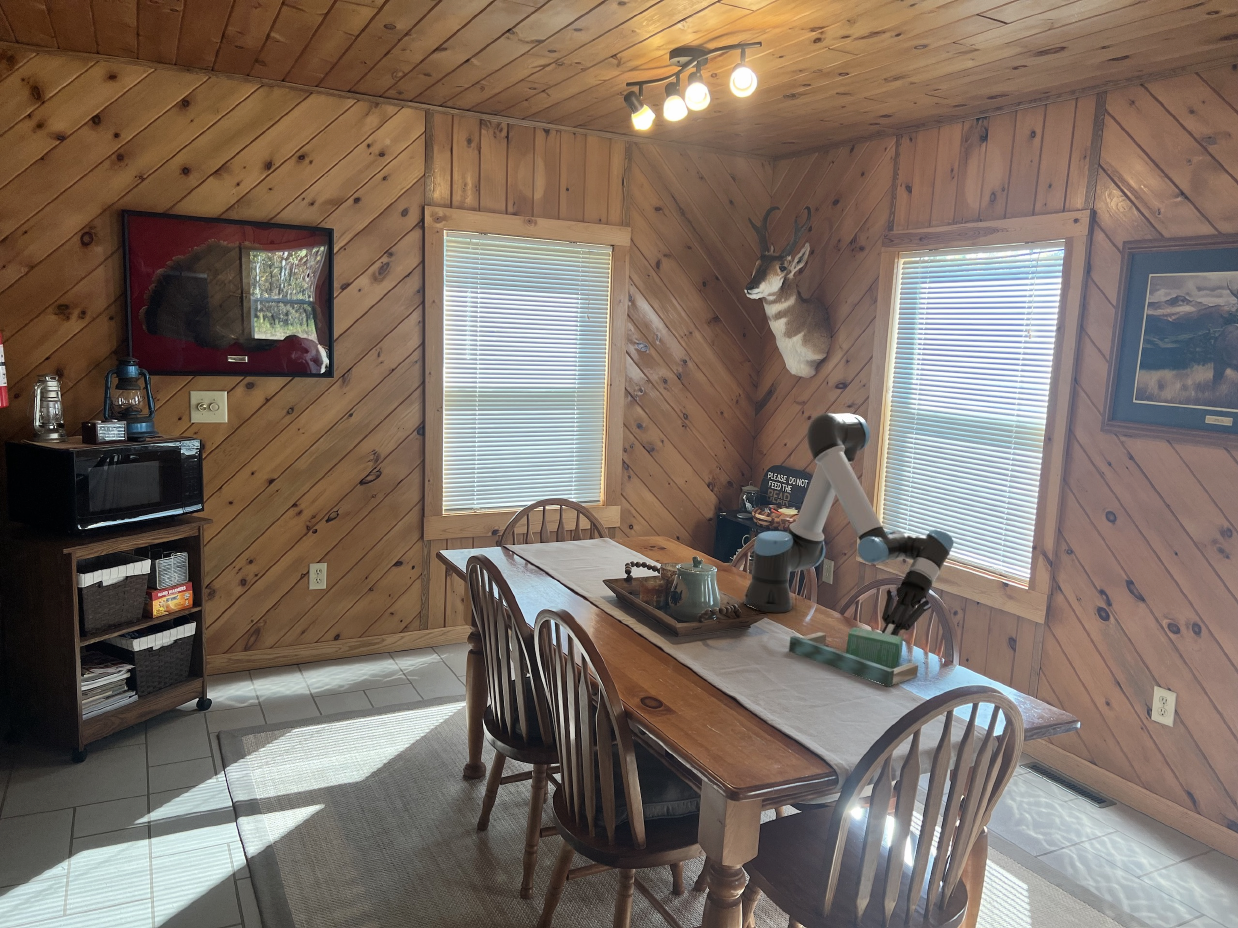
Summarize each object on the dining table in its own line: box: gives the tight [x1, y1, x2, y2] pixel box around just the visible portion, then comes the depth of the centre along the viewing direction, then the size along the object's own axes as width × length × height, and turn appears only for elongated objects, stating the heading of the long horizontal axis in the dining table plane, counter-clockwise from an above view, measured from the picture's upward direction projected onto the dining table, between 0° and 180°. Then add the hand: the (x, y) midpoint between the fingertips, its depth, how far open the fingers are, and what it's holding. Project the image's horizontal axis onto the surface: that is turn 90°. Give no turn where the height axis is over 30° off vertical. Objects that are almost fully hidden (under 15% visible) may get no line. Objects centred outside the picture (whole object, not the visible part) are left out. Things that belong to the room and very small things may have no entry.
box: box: [845, 626, 904, 669], centre depth 234 cm, size 7×14×8 cm, turn 65°
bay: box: [788, 631, 919, 687], centre depth 231 cm, size 30×14×4 cm, turn 42°
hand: (882, 646), depth 238 cm, fingers closed
